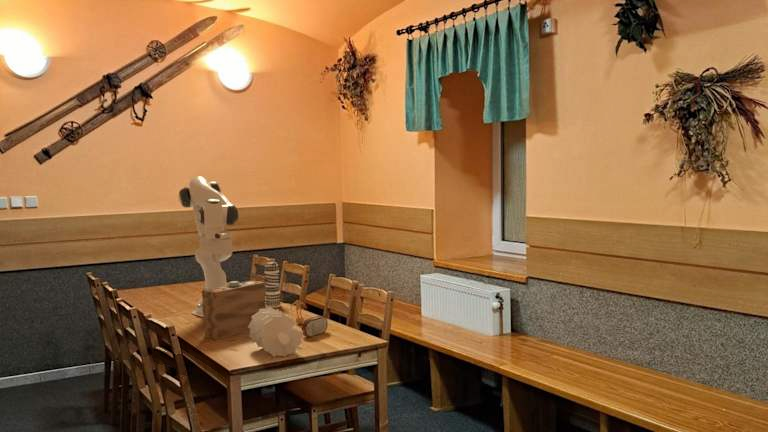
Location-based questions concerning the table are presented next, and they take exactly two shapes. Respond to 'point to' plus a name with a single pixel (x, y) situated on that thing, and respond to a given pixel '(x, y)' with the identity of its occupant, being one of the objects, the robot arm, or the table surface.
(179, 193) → the robot arm
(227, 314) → the button console
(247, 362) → the table surface
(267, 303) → the decorative candle
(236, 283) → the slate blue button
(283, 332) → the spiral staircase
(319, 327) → the tin
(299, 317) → the figurine
